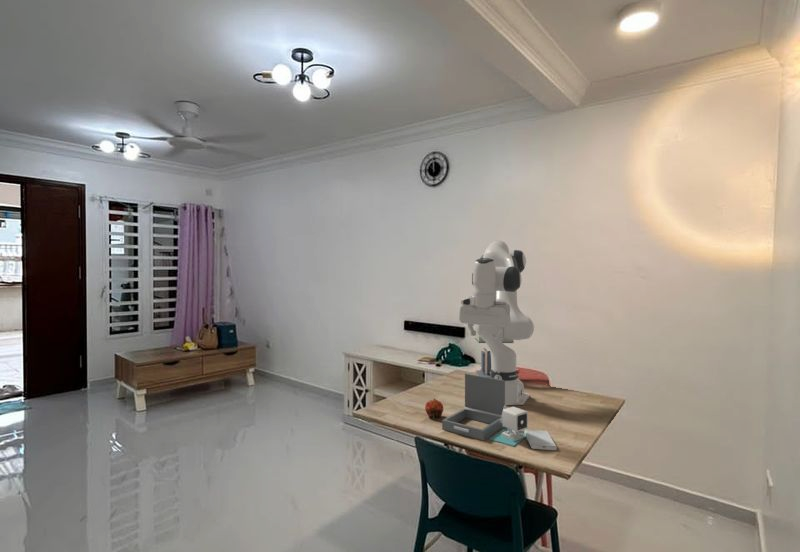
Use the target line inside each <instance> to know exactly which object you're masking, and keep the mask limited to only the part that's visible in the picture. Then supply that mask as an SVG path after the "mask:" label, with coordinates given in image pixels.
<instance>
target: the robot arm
mask: <svg viewBox="0 0 800 552" xmlns="http://www.w3.org/2000/svg"><path fill="white" fill-rule="evenodd" d="M526 264H527V258H526V256H525V254H524V252H523V250H519V249H518V250H517V249H514V250H510V249H509V247H508V244H506V242H505V241H502V240H494V241H492V242H491V243H490V244H489V245H488V246H487V247H486V248H485V250H484V253H483V255H481V256H480V258H478V259H476V260H474V263H473V269H472V270H473V271H472V273H471V285H472V286H473V290H472V296H469V297H466V298H462V299H461V300H460V304H461V306H460V309H459V315H458V316H459V318H458V319H459V320H458V321H459V322H460V323H461V324H467V328H468V329H469V332H470V336H473V337H475V335H476V332H477V334H478V335H479V336H480V337H481V338H482V339H483V340H484V341H485V342H486V343H485V344H486V345H487V346H488V349H489V351H490V353H491V369H490V377H491V378H494V379H500V380H505V405H506V406H522V405H525V404H526V402H527V400H528V399H529V398H530V393H527V392H525V385H524V382H522V381H521V380H520V379H519V374H520V373H521V370H520V369H519V368H517V353H516V351H515V349H513V348H511V347H508V346H507V345H506V344H505V343H502V340H504V339H508V340H514V341H521V340H528V339H530V338H531V337H532V335H533V334H534V330H535V326H534V323H533V320H532V319H531V318H530V317H528V316H527V315H525V314H524V313H523V312H522V311H521V310H520V308H519V306H518V305H519V304H518V295H517V294H518V292H517V291H518V290H519V289H520V288H521V285H522V274H521V273H522V272H523V271H524V270H525V268H526ZM475 330H476V331H475Z"/></svg>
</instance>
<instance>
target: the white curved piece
mask: <svg viewBox="0 0 800 552" xmlns="http://www.w3.org/2000/svg"><path fill="white" fill-rule="evenodd" d="M474 331H476V330H475V329H474ZM474 339H475V341H476V342H477V343H479V344H487V343H486V342H485V341H484V340H483V339H482V338H481V337H480V336H479V335H478V334H477V332H476V335H475V336H474ZM514 342H515V340H508V339H504V340H502V343H503V344H515V343H514ZM480 356H481V357H480V367H481V368H480V370H475V372H476V373H477V376H483V377H488V378H491V377H490V369H491V353H490V350H487V348H484V347H483V348H482V350H480Z"/></svg>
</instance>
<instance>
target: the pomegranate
mask: <svg viewBox="0 0 800 552" xmlns="http://www.w3.org/2000/svg"><path fill="white" fill-rule="evenodd" d="M424 408H425V409H424V410H425V412H426V414H427V415H428V416H429V417H430V418H431V417H432V421H434V419H435V416H436V418H437V417H438V418H439V417H441V416H442V415H443V412H444V405H443V403H442V402H441V401H439V400H437V399H436V398H434V399H432V400H429V401H427V402H426V403H425V407H424Z"/></svg>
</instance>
